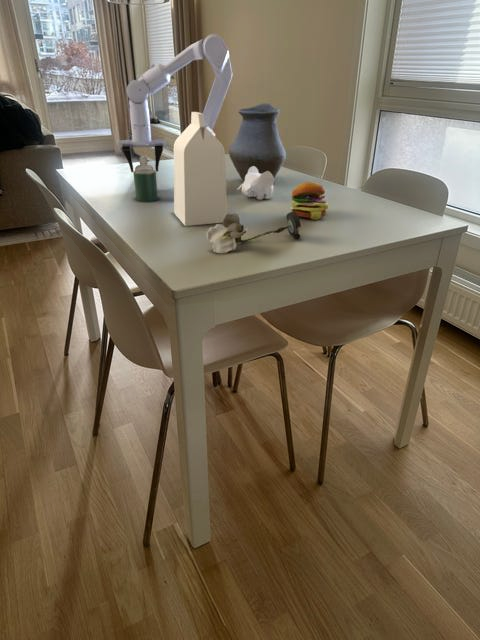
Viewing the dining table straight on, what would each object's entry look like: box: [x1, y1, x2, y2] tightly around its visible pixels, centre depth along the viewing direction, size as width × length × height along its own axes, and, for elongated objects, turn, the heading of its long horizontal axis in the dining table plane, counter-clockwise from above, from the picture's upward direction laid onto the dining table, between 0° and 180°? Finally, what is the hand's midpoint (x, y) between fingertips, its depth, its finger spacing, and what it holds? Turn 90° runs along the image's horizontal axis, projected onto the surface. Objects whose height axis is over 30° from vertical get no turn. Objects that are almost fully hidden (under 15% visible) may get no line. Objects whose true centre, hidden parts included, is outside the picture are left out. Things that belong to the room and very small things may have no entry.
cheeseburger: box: [290, 181, 329, 221], centre depth 126 cm, size 10×11×10 cm
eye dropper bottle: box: [134, 152, 154, 171], centre depth 144 cm, size 4×6×12 cm
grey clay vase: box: [228, 103, 287, 182], centre depth 158 cm, size 21×22×25 cm
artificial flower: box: [206, 210, 302, 254], centre depth 104 cm, size 9×22×10 cm, turn 109°
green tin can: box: [132, 169, 158, 203], centre depth 137 cm, size 7×7×8 cm
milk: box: [173, 111, 228, 227], centre depth 117 cm, size 12×12×26 cm
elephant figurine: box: [236, 166, 276, 201], centre depth 140 cm, size 10×12×9 cm
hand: (144, 171), depth 144 cm, fingers open, 7 cm apart
